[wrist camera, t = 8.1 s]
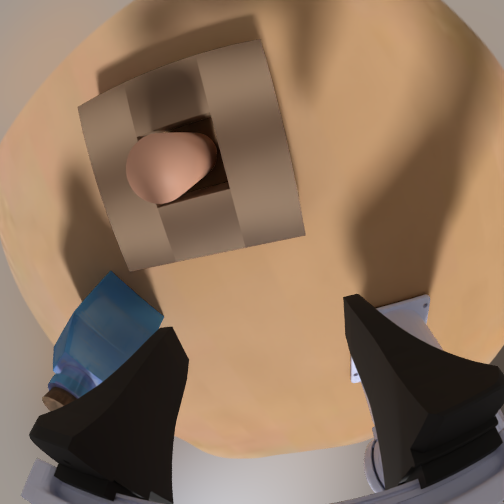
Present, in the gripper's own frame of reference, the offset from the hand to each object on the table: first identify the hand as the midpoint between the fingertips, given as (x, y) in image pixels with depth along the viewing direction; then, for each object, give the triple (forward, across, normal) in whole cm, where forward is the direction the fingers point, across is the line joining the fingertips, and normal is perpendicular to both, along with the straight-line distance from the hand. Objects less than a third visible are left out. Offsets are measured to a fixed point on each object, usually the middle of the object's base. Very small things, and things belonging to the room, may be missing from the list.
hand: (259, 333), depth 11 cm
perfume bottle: (+10, +14, +4) cm, 18 cm away
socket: (+10, +3, -7) cm, 12 cm away
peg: (+10, +3, -7) cm, 13 cm away
